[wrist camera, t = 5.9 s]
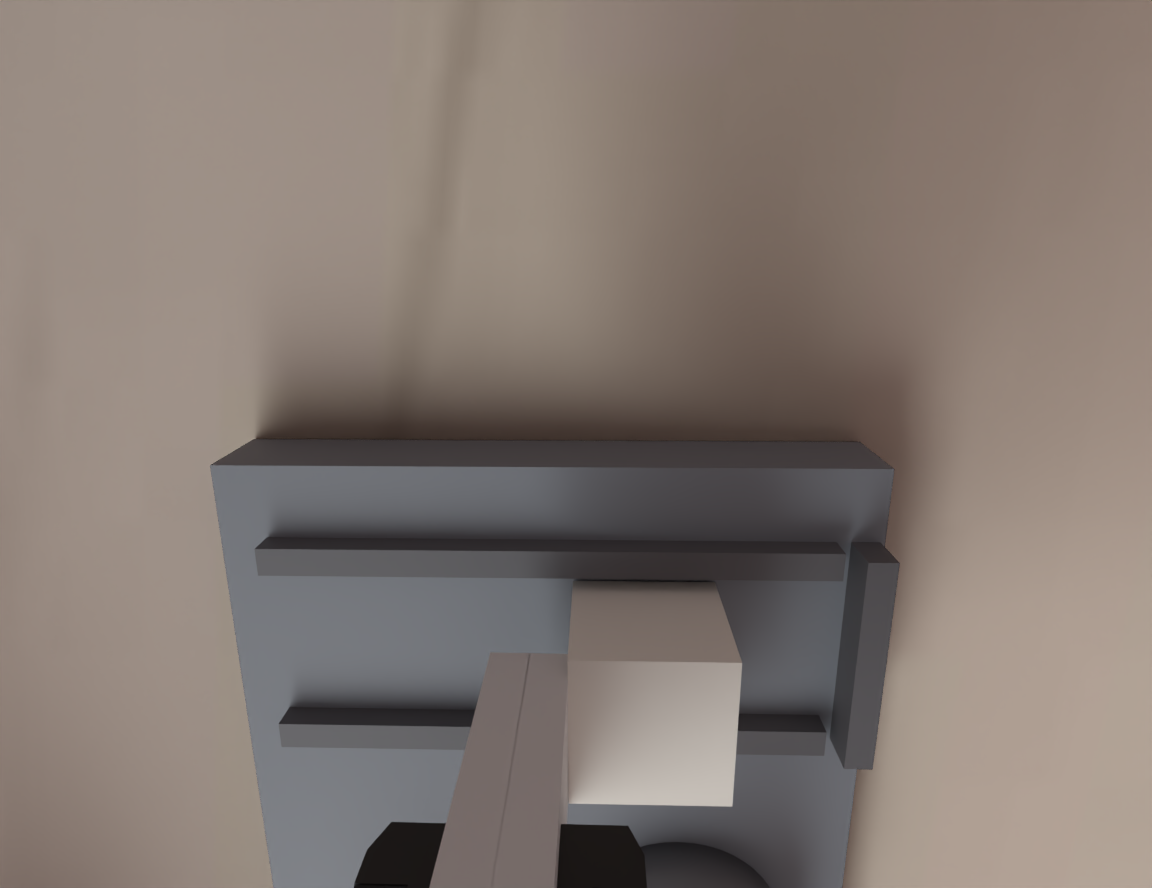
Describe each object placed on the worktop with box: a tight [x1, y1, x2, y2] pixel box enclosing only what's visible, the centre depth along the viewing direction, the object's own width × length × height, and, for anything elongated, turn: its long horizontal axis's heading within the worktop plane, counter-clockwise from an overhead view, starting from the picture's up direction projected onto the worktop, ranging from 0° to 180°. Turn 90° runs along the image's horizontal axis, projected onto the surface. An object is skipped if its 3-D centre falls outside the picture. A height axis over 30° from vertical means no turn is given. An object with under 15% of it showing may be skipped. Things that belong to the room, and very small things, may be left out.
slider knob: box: [567, 581, 742, 807], centre depth 14 cm, size 3×3×3 cm
